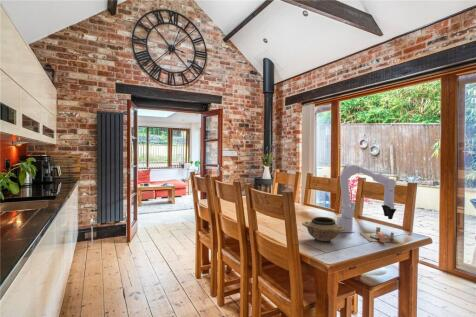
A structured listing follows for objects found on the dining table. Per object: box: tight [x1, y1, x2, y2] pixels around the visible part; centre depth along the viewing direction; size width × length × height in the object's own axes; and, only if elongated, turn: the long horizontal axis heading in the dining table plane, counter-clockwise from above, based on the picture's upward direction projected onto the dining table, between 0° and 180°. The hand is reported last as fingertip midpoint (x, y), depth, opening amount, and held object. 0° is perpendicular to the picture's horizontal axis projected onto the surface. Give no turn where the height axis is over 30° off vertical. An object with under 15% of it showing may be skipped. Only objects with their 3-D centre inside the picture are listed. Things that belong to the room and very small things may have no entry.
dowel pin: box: [390, 231, 395, 240], centre depth 163 cm, size 2×2×4 cm
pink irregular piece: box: [370, 231, 386, 244], centre depth 165 cm, size 15×9×4 cm, turn 166°
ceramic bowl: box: [301, 216, 345, 245], centre depth 160 cm, size 24×18×15 cm
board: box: [359, 226, 399, 244], centre depth 168 cm, size 16×15×6 cm
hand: (388, 217), depth 178 cm, fingers open, 7 cm apart
